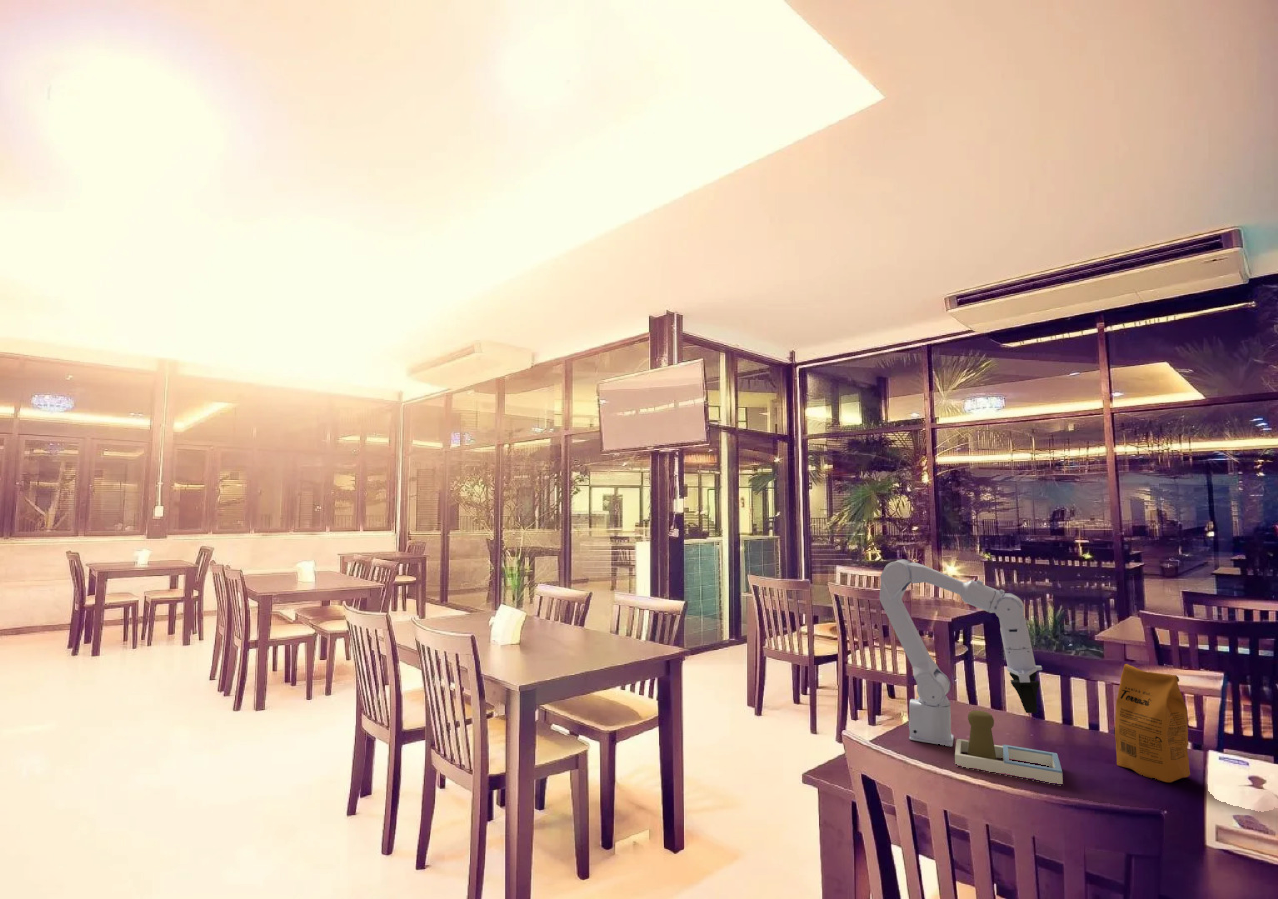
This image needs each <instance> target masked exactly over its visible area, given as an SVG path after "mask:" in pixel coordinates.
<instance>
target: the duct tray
mask: <svg viewBox="0 0 1278 899" xmlns="http://www.w3.org/2000/svg"><path fill="white" fill-rule="evenodd" d="M955 742H956V743H955V750H954V751H955V752H954V765H955V764H957V765H961V766H962V767H961V768H963V767H966V768H965V769H969V768H977V769H981V770H986V771H989V772H988V773H990V772H996V773H1006V774H1010V775H1015V776H1019V777H1026V778H1034V779H1036V780H1040V781H1045V782H1049V783H1048V784H1050V783H1057V784H1063V785H1064V783H1063V782H1064V781H1063V769H1062V766H1061V762H1060V759H1059V756H1058V753H1057V752H1052V751H1051V752H1050V751H1045V750H1039V749H1033V748H1029V747H1028V748H1027V747H1021V746H1016V745H1015V746H1014V745H1008V744H1004V743H1002V745H997V744H994V748H995V753H996V759H997V760H993V759H987V758H982V757H976V756H970V755H968V747H969V740H967V739H962V738H956V741H955ZM963 753H967V754H963ZM1001 758H1003V759H1002V760H998V759H1001ZM1009 758H1010V759H1015V760H1020V761H1026V762H1030V763H1038V764H1041V765H1046V766H1041V765H1035V764H1030V763H1024V762H1018V761H1012V760H1009ZM1047 766H1049V767H1047ZM996 773H995V774H996ZM1045 782H1044V783H1045Z"/></svg>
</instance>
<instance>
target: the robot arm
mask: <svg viewBox="0 0 1278 899" xmlns="http://www.w3.org/2000/svg"><path fill="white" fill-rule="evenodd" d="M879 576H880V577H879V578H880V588H879V597H878V598H879V602H880V604H881V606H882V608H883V610H884V612H885V614H886V616H887V618H888V620H889V622H890V624H891V626H892V628H893V631H894V632H895V634H896V636H897V638H898V641H899V642H900V644H901V647H902V649H903V651H904V652H905V655H906V657H907V659H908V661H909V663H910V665H911V667H912V674H913V678H914V680H915V683H916V692H917V694H918V697H917V699H915V698H911V699H909V706H908V709H909V710H908V712H909V714H908V719H909V720H908V730H909V740H911V741H914V742H915V741H916V742H921V743H928V744H934V745H938V744H940V746H944V745H945V746H944V747H951V748H952V747H953V746H954V745H953V744H954V739H955V738H954V737H955V735H954V734H952V717H951V716H952V715H951V714H952V712H951V700H949V698H948V696H947V694H948V693H949V692H950V690H951V682H950V679H949V677H948V675H946V674H945V673H944V672H943V671H942V670H941V669H940V668H939V666H938V664H937V663H936V662H935V661H934V660H933V659H932V657H931V655H930V653H929V650H928V649H927V647H926V645H925V643H924V640H922V636H920V633H919V631H918V629H917V626H916V625H915V623H914V621H913V620H912V616H911V615H910V614H909V611H908V610H907V608H906V605H905V604H904V601H903V597H904V595H905V593H906V590H907V588H908V586H909V585H911V584H921V583H927V584H930V585H933V586H935V587H937V588H941V589H943V590H946V591H948V592H951V593H954V594H956V595H959V596H960V598H961V600H962V602H964V603H965V604H968V605H969V606H973V607H975V608H978V609H980V610H982V611H985V612H987V613H989V614H995V615H996V617H998V620H999V621H998V622H999V625H1000V628H999V630H1000V635H1001V640H1002V645H1003V650H1004V656H1005V660H1006V664H1007V667H1006V669H1007V672H1009V676H1010V677H1011V679H1010V684H1011V686H1012V687H1013V688H1014V689H1015V691H1016V694H1017V695H1018V697H1019V699H1020V702H1021V704H1022V706H1023V707H1022V708H1023V709H1024V713H1026V714H1037V712H1038V711H1037V710H1038V703H1037V702H1038V701H1037V697H1038V689H1039V688H1040V687H1039V686H1040V680H1036V677H1037V671H1043V667H1042V665H1036V661H1035V657H1034V652H1033V647H1032V642H1031V637H1030V632H1029V628H1028V626H1027V621H1026V618H1025V616H1024V611H1025V606H1024V605H1025V604H1024V603H1023V601H1022V599H1021V598H1020V597H1019V596H1018V595H1015V594H1014V593H1011V592H1008V593H1007V592H1006V591H1005V590H1004V589H1002V588H1001V589H996V588H993V587H990V586H988V585H985V584H984V581H983V580H980V579H977V580H976V581H975V580H973V579H970V580H969V581H965V582H963V581H961V580H959V579H956V578H955V577H952V576H950V575H947V574H945V573H943V572H940V571H938V570H936V569H933V568H931V567H929V566H927V565H924V564H921V563H919V562H911V561H910V560H907V559H902V558H901V559H897V560H896V561H891V562H889V563H887V564H886V565H885V567H884V568H883V570H882V572H881V574H880V575H879ZM1005 592H1006V593H1005Z"/></svg>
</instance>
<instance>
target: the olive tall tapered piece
mask: <svg viewBox="0 0 1278 899" xmlns="http://www.w3.org/2000/svg"><path fill="white" fill-rule="evenodd" d="M967 721H968V724H969V725H970V730H969V738H968V739H969V747H968V753H967V755H970V756H976V757H982V758H987V759H993V760H998V758H996V753H995V748H994V745H995V742H994V736H993V731H992V729H993V727H994V724H995V719H994V717H993V715H992V714H991V713H989V712H987V711H984V710H975V709H974V710H972V711H970V712H968V715H967Z"/></svg>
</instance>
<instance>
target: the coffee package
mask: <svg viewBox="0 0 1278 899" xmlns="http://www.w3.org/2000/svg"><path fill="white" fill-rule="evenodd" d="M1122 668H1123V669H1122V672H1121V676H1120V682H1119V687H1118V690H1117V691H1118V693H1117V698H1116V700H1115V718H1114V719H1115V720H1114V721H1115V724H1114V740H1115V752H1116V765H1117V766H1118V767H1122V768H1126V769H1131V770H1132V771H1134V772H1135V773H1136V774H1139V775H1140V776H1142V775H1143V777H1146V778H1148V779H1152V778H1155V779H1154V780H1156V779H1157V780H1156V781H1161V782H1164V783H1173V782H1175V781H1178V780H1180V779H1184V778H1188V777H1189V776H1191V772H1190V771H1191V770H1190V758H1189V752H1188V750H1189V749H1188V746H1189V730H1188V729H1189V727H1188V717H1189V716H1188V707H1187V706H1186V703H1185V700H1184V697H1183V694H1182V692H1181V689H1180V687H1179V683H1178V682H1180V678H1179V677H1178V675H1177V674H1170V673H1160V672H1152V671H1145V670H1143V669H1140V668H1138V667H1135V666H1133V665H1130V664H1129V663H1125V664H1124V665H1123V667H1122Z"/></svg>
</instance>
